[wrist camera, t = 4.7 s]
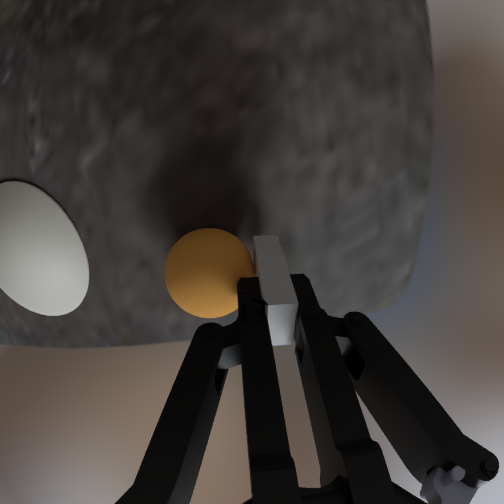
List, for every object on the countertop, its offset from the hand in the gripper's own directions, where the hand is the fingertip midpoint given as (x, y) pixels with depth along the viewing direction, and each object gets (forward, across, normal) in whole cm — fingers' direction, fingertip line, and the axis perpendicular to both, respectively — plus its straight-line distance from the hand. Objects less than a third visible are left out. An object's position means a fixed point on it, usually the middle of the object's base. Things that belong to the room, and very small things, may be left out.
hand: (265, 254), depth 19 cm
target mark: (+2, -20, 0) cm, 20 cm away
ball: (-1, -4, 0) cm, 4 cm away
